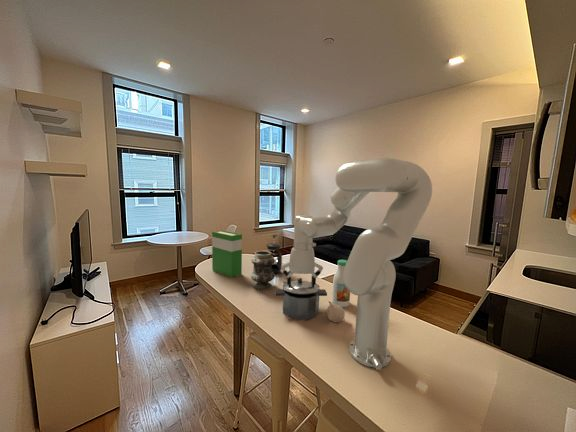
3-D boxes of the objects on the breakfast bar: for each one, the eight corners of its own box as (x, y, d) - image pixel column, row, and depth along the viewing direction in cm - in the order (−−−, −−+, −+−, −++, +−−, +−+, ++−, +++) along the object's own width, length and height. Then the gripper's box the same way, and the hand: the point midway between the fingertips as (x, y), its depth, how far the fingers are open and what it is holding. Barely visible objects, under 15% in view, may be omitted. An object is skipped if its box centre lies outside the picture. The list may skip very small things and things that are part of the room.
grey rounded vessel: (275, 282, 131) (276, 250, 129) (271, 292, 119) (272, 256, 117) (253, 281, 132) (254, 248, 130) (248, 290, 120) (248, 255, 118)
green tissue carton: (212, 270, 146) (212, 231, 144) (222, 267, 152) (222, 230, 149) (231, 277, 136) (231, 235, 133) (241, 274, 142) (241, 234, 139)
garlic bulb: (332, 314, 100) (333, 296, 99) (346, 320, 96) (347, 301, 95) (324, 321, 94) (325, 301, 94) (338, 327, 90) (340, 307, 90)
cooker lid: (322, 295, 94) (323, 287, 94) (283, 295, 93) (283, 287, 93) (315, 283, 110) (315, 276, 110) (282, 283, 109) (282, 276, 109)
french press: (261, 271, 148) (262, 234, 145) (273, 268, 154) (274, 232, 152) (274, 276, 139) (275, 237, 137) (286, 273, 146) (287, 235, 143)
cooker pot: (329, 320, 95) (330, 298, 94) (275, 320, 94) (275, 298, 93) (321, 300, 111) (321, 282, 110) (274, 300, 110) (275, 281, 109)
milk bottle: (329, 305, 108) (331, 261, 105) (334, 298, 114) (337, 257, 112) (346, 309, 104) (349, 264, 102) (351, 302, 111) (353, 260, 108)
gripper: (322, 243, 102) (320, 282, 104) (281, 243, 101) (280, 282, 103) (326, 248, 95) (323, 290, 97) (281, 247, 94) (280, 289, 96)
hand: (301, 286), depth 100 cm, fingers open, 9 cm apart
